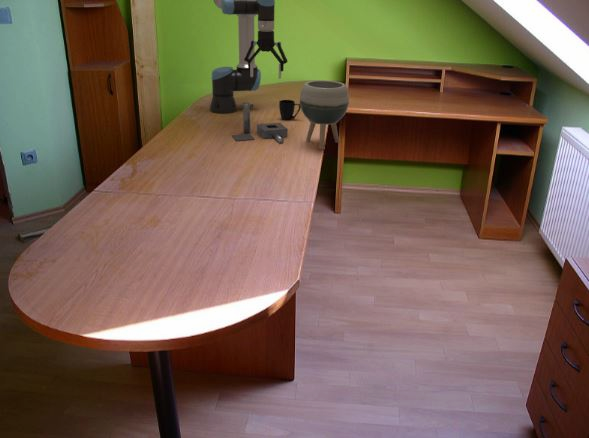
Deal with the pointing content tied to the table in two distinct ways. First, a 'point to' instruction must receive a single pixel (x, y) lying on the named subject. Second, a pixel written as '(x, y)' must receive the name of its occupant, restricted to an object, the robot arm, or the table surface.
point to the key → (246, 117)
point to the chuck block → (272, 131)
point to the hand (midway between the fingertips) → (265, 77)
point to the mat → (242, 137)
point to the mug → (287, 109)
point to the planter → (324, 106)
